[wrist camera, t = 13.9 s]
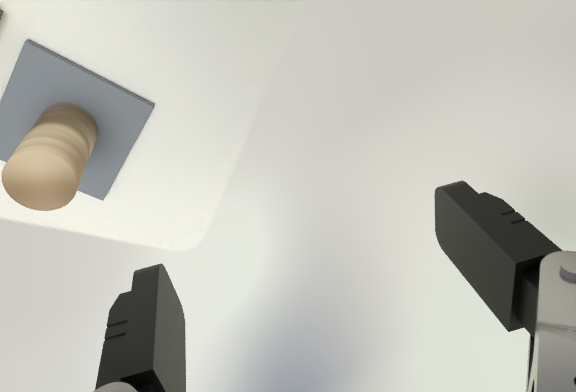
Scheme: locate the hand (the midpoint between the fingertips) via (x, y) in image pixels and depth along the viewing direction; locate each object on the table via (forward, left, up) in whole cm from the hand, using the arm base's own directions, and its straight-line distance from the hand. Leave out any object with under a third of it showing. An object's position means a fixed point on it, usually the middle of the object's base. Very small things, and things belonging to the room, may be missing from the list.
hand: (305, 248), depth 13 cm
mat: (+6, -13, -28) cm, 32 cm away
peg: (+6, -13, -27) cm, 31 cm away
